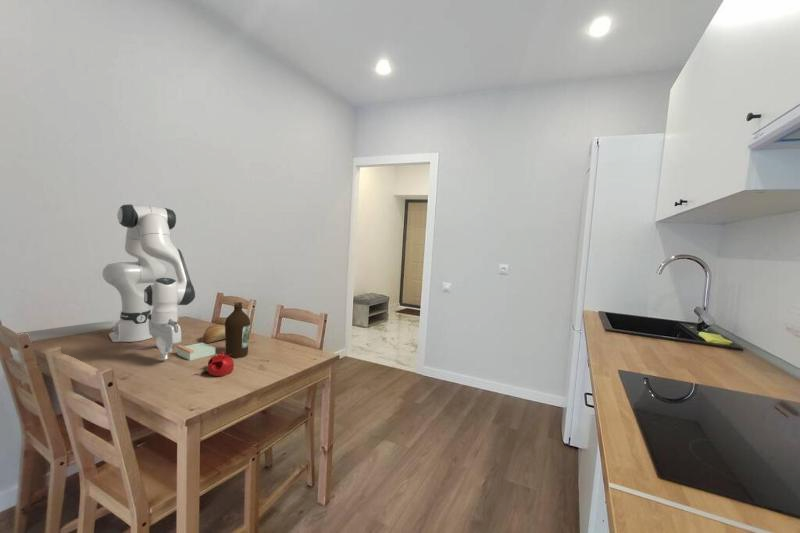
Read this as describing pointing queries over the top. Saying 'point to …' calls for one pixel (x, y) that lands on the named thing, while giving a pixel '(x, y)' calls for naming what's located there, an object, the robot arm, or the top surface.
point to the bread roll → (214, 333)
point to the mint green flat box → (195, 351)
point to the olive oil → (237, 332)
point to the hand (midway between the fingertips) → (164, 349)
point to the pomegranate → (220, 365)
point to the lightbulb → (162, 347)
